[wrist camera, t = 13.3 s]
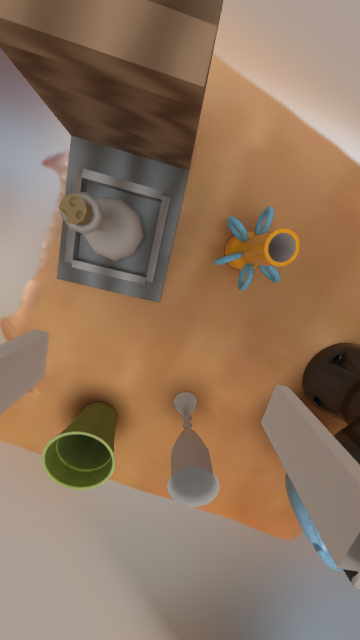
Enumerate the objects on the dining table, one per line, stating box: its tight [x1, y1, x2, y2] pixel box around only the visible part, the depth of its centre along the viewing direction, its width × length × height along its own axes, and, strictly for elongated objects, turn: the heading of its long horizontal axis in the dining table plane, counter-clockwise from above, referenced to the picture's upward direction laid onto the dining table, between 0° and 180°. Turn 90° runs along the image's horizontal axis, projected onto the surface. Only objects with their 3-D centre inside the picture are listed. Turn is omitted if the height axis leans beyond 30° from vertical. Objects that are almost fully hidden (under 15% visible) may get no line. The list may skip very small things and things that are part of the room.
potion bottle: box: [59, 192, 143, 261], centre depth 28 cm, size 9×9×18 cm
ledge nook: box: [0, 0, 223, 302], centre depth 26 cm, size 18×23×23 cm
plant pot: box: [42, 402, 117, 490], centre depth 41 cm, size 12×12×11 cm
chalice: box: [167, 392, 219, 507], centre depth 38 cm, size 7×7×18 cm
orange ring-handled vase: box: [214, 206, 300, 291], centre depth 32 cm, size 12×10×15 cm
